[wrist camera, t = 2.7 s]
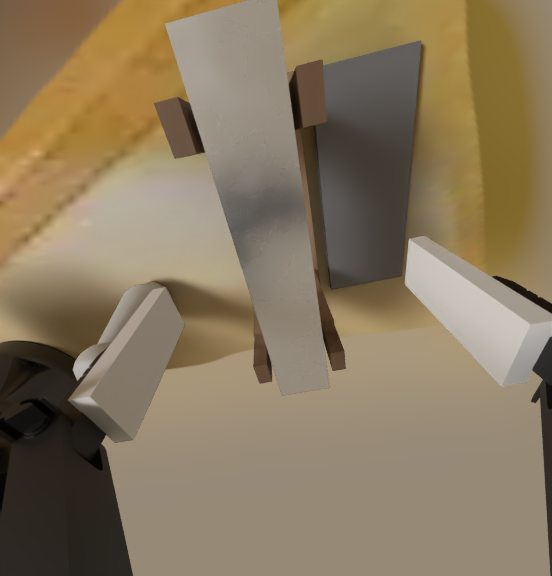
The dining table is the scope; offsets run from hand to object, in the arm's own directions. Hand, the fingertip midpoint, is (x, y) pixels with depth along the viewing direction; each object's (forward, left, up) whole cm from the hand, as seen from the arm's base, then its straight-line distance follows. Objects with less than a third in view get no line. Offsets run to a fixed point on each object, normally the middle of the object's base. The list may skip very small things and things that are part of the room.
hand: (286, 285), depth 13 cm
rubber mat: (+10, 0, -16) cm, 18 cm away
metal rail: (0, 0, -5) cm, 5 cm away
